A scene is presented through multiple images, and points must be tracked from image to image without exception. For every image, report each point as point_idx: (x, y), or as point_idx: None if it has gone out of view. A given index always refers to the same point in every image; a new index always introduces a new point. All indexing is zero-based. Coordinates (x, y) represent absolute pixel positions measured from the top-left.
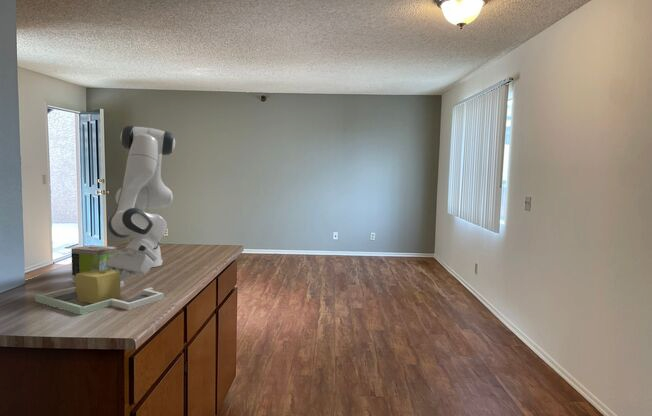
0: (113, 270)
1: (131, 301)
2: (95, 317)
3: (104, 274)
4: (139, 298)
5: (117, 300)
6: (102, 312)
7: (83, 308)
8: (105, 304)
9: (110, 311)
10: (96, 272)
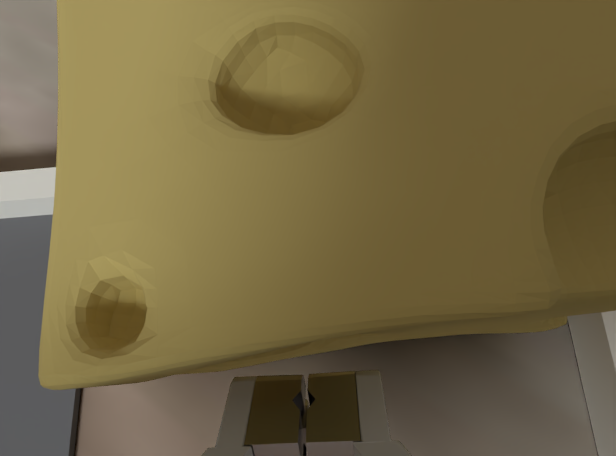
0: (206, 316)
1: (12, 330)
2: (4, 17)
3: (100, 32)
4: (9, 437)
5: (10, 187)
6: (38, 79)
7: None
8: None
9: (5, 117)
10: (390, 7)
